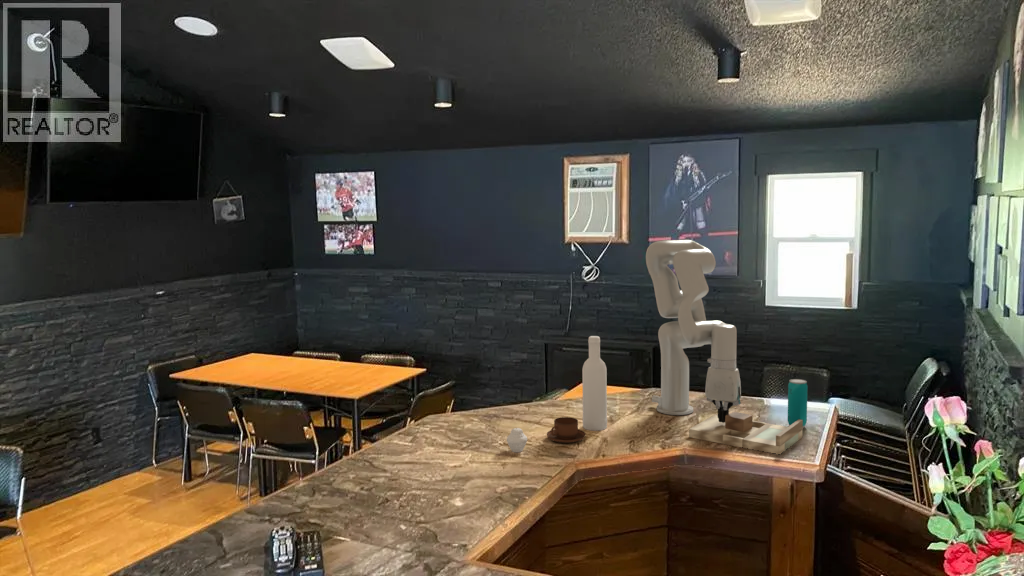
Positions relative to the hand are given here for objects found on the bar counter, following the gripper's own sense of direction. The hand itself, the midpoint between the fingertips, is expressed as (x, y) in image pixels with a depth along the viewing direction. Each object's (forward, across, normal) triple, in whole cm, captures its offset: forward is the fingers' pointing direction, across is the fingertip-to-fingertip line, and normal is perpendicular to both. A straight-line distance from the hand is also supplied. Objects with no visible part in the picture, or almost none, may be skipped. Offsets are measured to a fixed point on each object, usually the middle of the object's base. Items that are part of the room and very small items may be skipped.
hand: (723, 421), depth 226 cm
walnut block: (+1, +5, 0) cm, 5 cm away
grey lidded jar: (+4, -42, -52) cm, 66 cm away
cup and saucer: (+4, -36, -34) cm, 50 cm away
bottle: (+4, -36, -19) cm, 40 cm away
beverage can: (+4, +16, +21) cm, 26 cm away
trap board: (+4, +7, 0) cm, 8 cm away
